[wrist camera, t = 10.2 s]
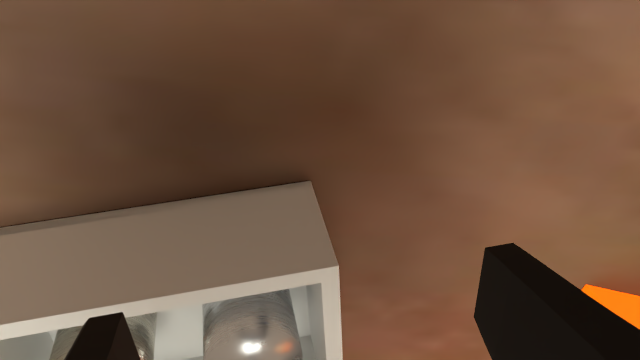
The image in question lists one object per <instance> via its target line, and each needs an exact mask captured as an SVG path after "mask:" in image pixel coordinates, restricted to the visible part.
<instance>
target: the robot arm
mask: <svg viewBox="0 0 640 360" xmlns="http://www.w3.org/2000/svg"><path fill="white" fill-rule="evenodd" d="M474 318H475V321H476V323H477V325H478V328H479V330H480V333H481V335H482V338H483V340H484V342H485V345H486V347H487V349H488V351H489V354H490V356H491V358H492V360H640V329H638V328H637V327H635V326H634V325H632V324H631V323H629V322H628V321H626V320H624V319H623V318H621V317H620V316H618V315H617V314H615V313H614V312H612V311H611V310H609V309H608V308H606V307H605V306H603V305H602V304H600V303H599V302H597V301H596V300H594V299H593V298H591V297H590V296H588V295H587V294H586V293H584V292H583V291H581V290H580V289H578V288H577V287H575V286H574V285H573V284H571V283H570V282H568V281H567V280H565V279H564V278H563V277H561V276H560V275H558V274H557V273H555V272H554V271H553V270H551V269H550V268H548V267H547V266H546V265H544V264H543V263H541V262H540V261H539V260H537V259H536V258H534V257H533V256H531V255H530V254H529V253H527V252H526V251H524V250H523V249H521V248H520V247H518V246H517V245H515V244H514V243H510V244H504V245H498V246H493V247H487V248H485V252H484V258H483V264H482V270H481V276H480V282H479V288H478V295H477V301H476V307H475V313H474ZM64 360H141V359H140V357H139V354H138V351H137V349H136V346H135V343H134V340H133V338H132V335H131V332H130V330H129V327H128V324H127V322H126V319H125V316H124V314H123V312H119V313H114V314H108V315H102V316H97V317H91V318H89V319H88V320H87V321H86V322H85V323H84V325H83V327H82V329H81V331H80V332H79V334H78V336H77V338H76V339H75V341H74V343H73V345H72V347H71V348H70V350H69V352H68V354H67V355H66V357H65V359H64Z"/></svg>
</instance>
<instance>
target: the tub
mask: <svg viewBox="0 0 640 360" xmlns="http://www.w3.org/2000/svg"><path fill="white" fill-rule="evenodd" d="M284 289H289V290H290V295H291V300H292V305H293V310H294V314H295V319H296V324H297V329H298V334H299V338H300V343H301V348H302V353H303V358H302V360H343V356H342V332H341V307H340V282H339V265H338V262H337V259H336V256H335V253H334V250H333V247H332V244H331V241H330V238H329V235H328V232H327V229H326V226H325V223H324V220H323V217H322V214H321V211H320V208H319V205H318V202H317V199H316V196H315V192H314V189H313V186H312V183H311V181H305V182H298V183H292V184H285V185H279V186H272V187H265V188H259V189H252V190H246V191H239V192H232V193H226V194H219V195H213V196H206V197H200V198H193V199H186V200H180V201H173V202H167V203H160V204H153V205H147V206H140V207H134V208H127V209H120V210H114V211H107V212H101V213H94V214H87V215H81V216H74V217H68V218H61V219H54V220H48V221H41V222H35V223H28V224H21V225H15V226H8V227H2V228H0V360H49V359H50V355H51V351H52V348H53V344H54V340H55V337H56V333H57V330H59V329H65V328H70V327H76V326H82V325H84V323H85V322H86V321H87V320H88V319H89V318H91V317H97V316H102V315H108V314H114V313H119V312H123V314H124V316H125V318H127V317H132V316H138V315H143V314H149V313H155V312H157V322H156V335H155V347H154V360H203V320H202V304H205V303H211V302H216V301H222V300H227V299H233V298H239V297H244V296H250V295H255V294H261V293H267V292H272V291H278V290H284Z"/></svg>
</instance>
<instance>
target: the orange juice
mask: <svg viewBox="0 0 640 360" xmlns="http://www.w3.org/2000/svg"><path fill="white" fill-rule="evenodd" d="M581 291H583V292H584V293H586V294H587V295H588V296H590V297H591V298H593V299H594V300H596V301H597V302H599V303H600V304H602V305H603V306H605V307H606V308H608V309H609V310H611V311H612V312H614V313H615V314H617V315H618V316H620V317H621V318H623V319H624V320H626V321H628V322H629V323H631V324H632V325H634V326H635V327H637V328H638V329H640V296H636V295H632V294H627V293H623V292H618V291H614V290H609V289H604V288H600V287H595V286H591V285H585V286H584V287H583V289H582V290H581Z"/></svg>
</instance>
